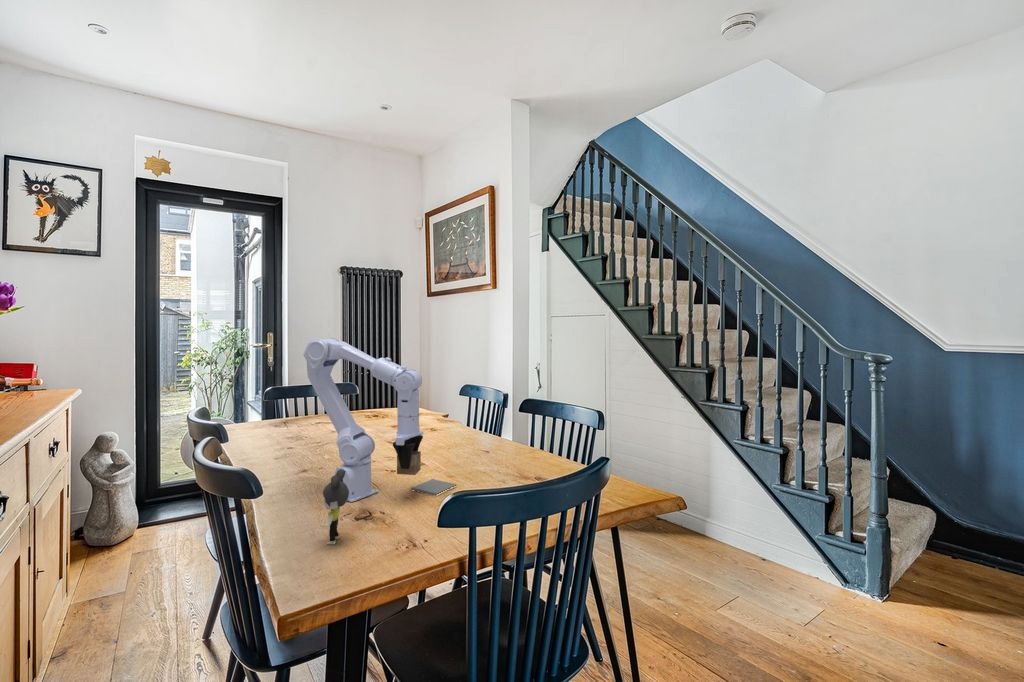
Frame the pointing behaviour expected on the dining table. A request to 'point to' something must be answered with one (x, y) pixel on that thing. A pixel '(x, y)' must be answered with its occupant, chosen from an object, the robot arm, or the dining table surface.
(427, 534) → the dining table surface
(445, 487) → the slate coaster
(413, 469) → the walnut block
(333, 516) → the toy
